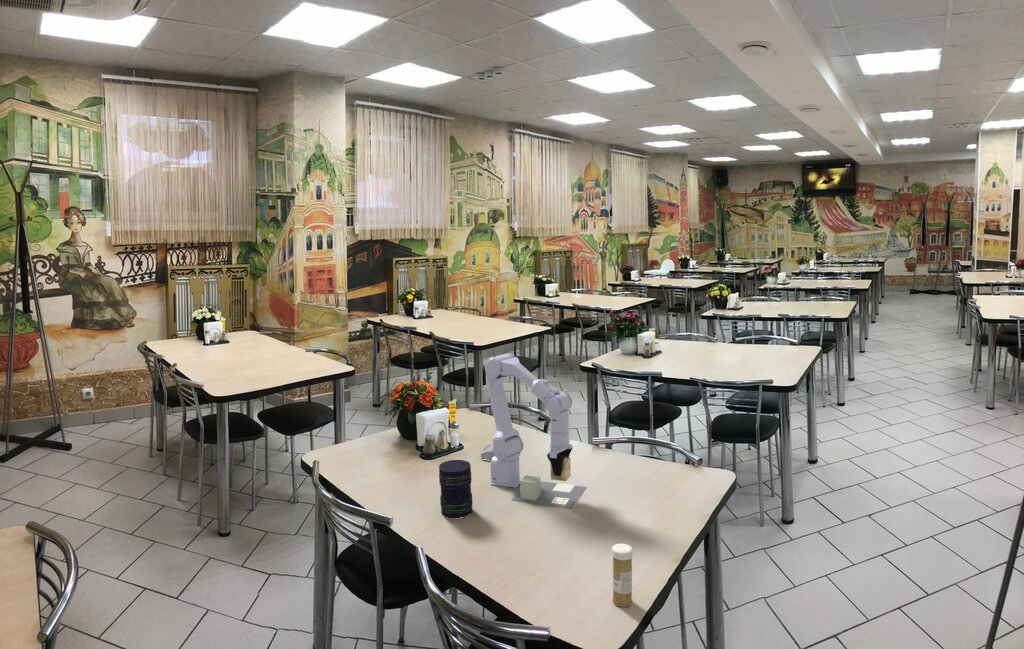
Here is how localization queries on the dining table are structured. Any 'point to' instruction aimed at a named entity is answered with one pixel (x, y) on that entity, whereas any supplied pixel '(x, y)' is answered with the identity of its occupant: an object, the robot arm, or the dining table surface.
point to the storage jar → (455, 488)
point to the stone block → (487, 452)
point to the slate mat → (556, 495)
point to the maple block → (563, 471)
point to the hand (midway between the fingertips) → (560, 472)
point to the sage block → (530, 487)
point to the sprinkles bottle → (622, 575)
